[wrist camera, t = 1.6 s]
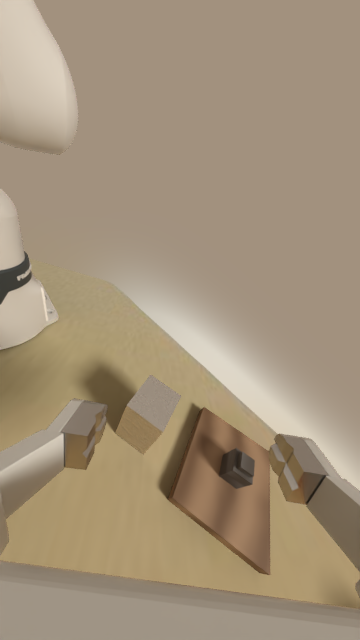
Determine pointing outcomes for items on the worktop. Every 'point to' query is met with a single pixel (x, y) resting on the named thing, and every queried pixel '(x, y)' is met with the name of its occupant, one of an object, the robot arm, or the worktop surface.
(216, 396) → the worktop surface
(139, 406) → the tall wooden block
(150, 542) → the worktop surface
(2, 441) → the worktop surface
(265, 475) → the wooden base with peg
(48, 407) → the worktop surface
